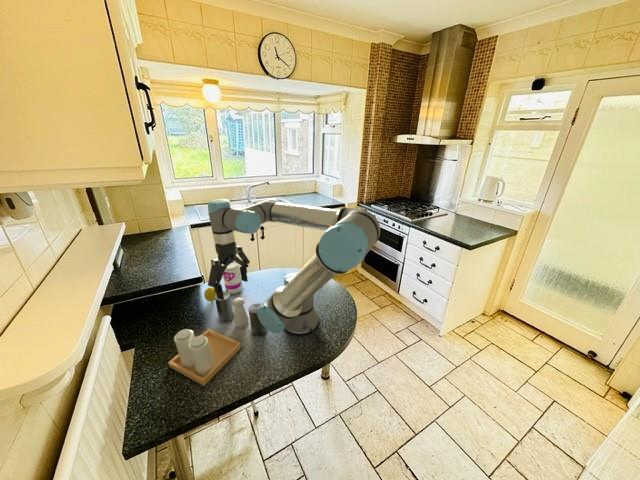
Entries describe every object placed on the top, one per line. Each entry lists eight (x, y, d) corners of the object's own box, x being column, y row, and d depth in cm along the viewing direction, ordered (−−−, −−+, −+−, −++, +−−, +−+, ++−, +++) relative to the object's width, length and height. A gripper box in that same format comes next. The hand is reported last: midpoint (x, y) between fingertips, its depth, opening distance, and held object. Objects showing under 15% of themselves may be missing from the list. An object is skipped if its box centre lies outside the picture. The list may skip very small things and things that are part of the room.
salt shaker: (252, 322, 111) (248, 297, 106) (243, 330, 107) (239, 305, 101) (241, 318, 114) (237, 294, 108) (232, 326, 109) (227, 301, 104)
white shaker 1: (203, 357, 94) (196, 330, 88) (189, 370, 89) (181, 342, 83) (192, 352, 96) (184, 325, 91) (178, 364, 91) (169, 336, 86)
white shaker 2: (218, 364, 91) (211, 337, 86) (204, 378, 86) (196, 350, 81) (205, 358, 93) (198, 331, 88) (191, 371, 88) (183, 343, 83)
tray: (241, 347, 99) (240, 342, 98) (204, 387, 84) (202, 381, 83) (209, 333, 105) (208, 328, 104) (169, 367, 90) (167, 362, 89)
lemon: (210, 306, 121) (207, 292, 118) (203, 302, 124) (200, 288, 120) (220, 300, 125) (217, 286, 122) (213, 296, 128) (210, 283, 125)
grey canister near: (269, 328, 108) (266, 305, 103) (260, 338, 103) (257, 314, 98) (257, 324, 110) (255, 301, 105) (248, 333, 105) (245, 310, 100)
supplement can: (237, 295, 129) (233, 269, 123) (222, 293, 130) (218, 268, 124) (245, 286, 136) (241, 261, 130) (231, 284, 138) (226, 260, 131)
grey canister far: (236, 316, 115) (232, 294, 110) (226, 324, 110) (222, 302, 105) (226, 312, 117) (222, 290, 112) (216, 320, 112) (211, 298, 108)
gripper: (240, 228, 107) (246, 272, 115) (189, 253, 86) (201, 304, 95) (254, 231, 104) (260, 276, 112) (205, 257, 83) (216, 310, 92)
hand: (233, 289), depth 103 cm, fingers open, 13 cm apart
